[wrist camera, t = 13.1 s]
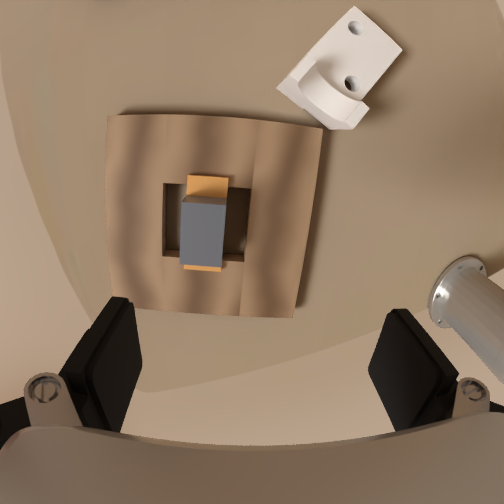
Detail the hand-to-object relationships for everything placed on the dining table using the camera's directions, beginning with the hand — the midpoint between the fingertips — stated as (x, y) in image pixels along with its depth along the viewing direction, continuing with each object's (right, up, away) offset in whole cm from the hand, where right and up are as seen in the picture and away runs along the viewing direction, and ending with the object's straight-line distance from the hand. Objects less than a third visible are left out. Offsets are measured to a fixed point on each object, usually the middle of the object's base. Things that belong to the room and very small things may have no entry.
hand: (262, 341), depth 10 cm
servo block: (-5, +7, +23) cm, 24 cm away
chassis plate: (-5, +7, +22) cm, 24 cm away
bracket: (+9, +23, +18) cm, 30 cm away
